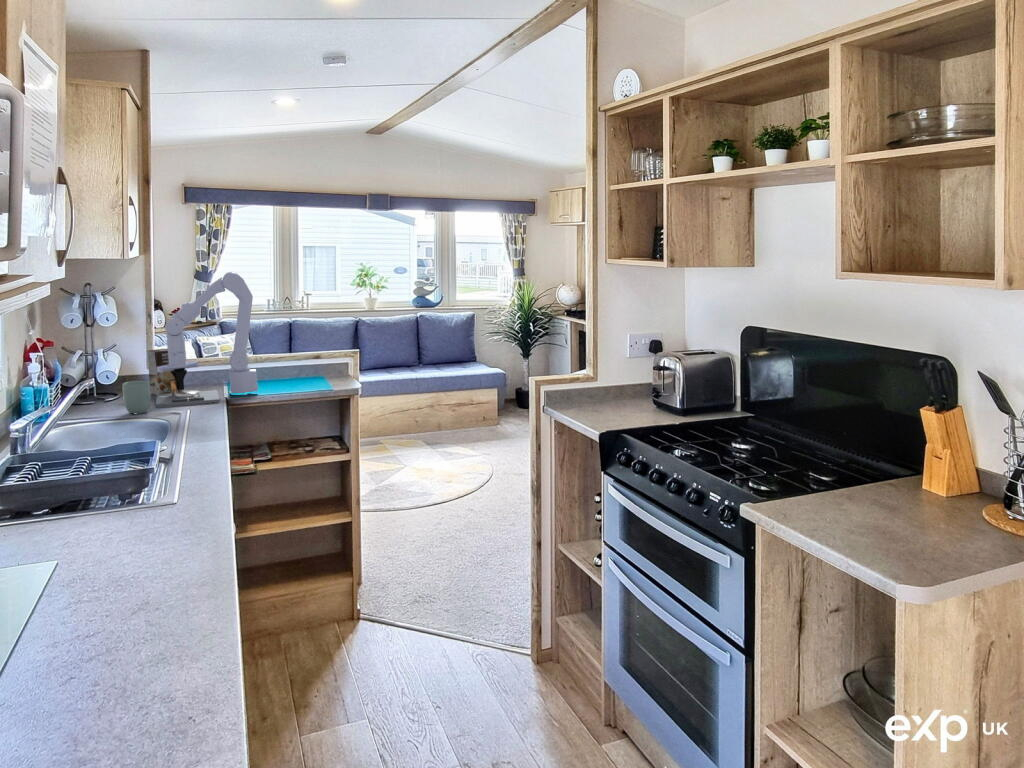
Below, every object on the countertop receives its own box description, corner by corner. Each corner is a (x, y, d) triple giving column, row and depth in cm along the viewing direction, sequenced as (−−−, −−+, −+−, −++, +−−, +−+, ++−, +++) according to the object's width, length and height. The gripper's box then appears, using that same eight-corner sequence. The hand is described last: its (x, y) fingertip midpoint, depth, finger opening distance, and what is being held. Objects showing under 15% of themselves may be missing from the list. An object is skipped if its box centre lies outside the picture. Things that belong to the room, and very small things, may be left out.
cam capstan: (205, 395, 260) (204, 382, 260) (185, 399, 254) (184, 386, 253) (182, 391, 266) (181, 379, 265) (163, 395, 259) (161, 383, 258)
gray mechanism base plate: (217, 393, 271) (216, 385, 271) (220, 402, 255) (219, 394, 255) (157, 397, 263) (156, 389, 263) (156, 407, 247) (155, 399, 247)
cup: (144, 415, 236) (141, 385, 234) (120, 415, 236) (117, 385, 234) (156, 410, 243) (153, 380, 242) (133, 410, 244) (130, 380, 242)
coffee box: (159, 395, 267) (155, 351, 264) (150, 393, 271) (145, 350, 268) (183, 391, 274) (179, 348, 271) (173, 389, 278) (170, 347, 275)
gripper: (189, 348, 268) (192, 385, 271) (150, 353, 257) (154, 391, 259) (200, 350, 264) (203, 387, 267) (161, 355, 253) (165, 394, 255)
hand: (180, 389), depth 263 cm, fingers closed, pressing on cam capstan
